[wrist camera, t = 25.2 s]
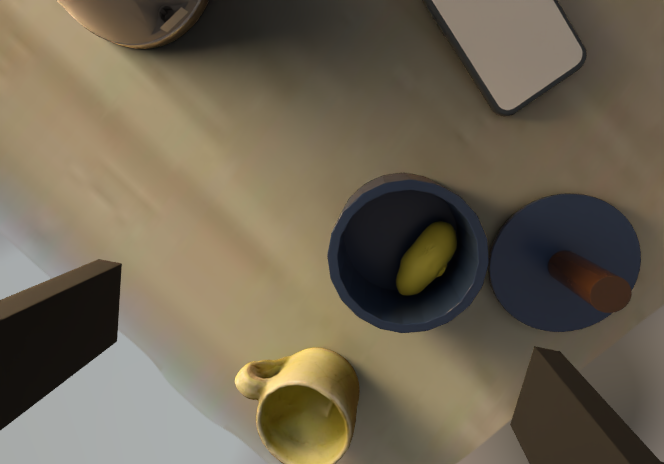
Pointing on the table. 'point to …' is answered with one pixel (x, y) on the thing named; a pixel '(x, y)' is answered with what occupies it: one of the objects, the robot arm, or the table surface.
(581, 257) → the lid
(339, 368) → the mug
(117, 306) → the robot arm
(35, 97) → the table surface
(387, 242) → the tin
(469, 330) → the table surface
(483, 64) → the phone case
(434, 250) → the lemon
